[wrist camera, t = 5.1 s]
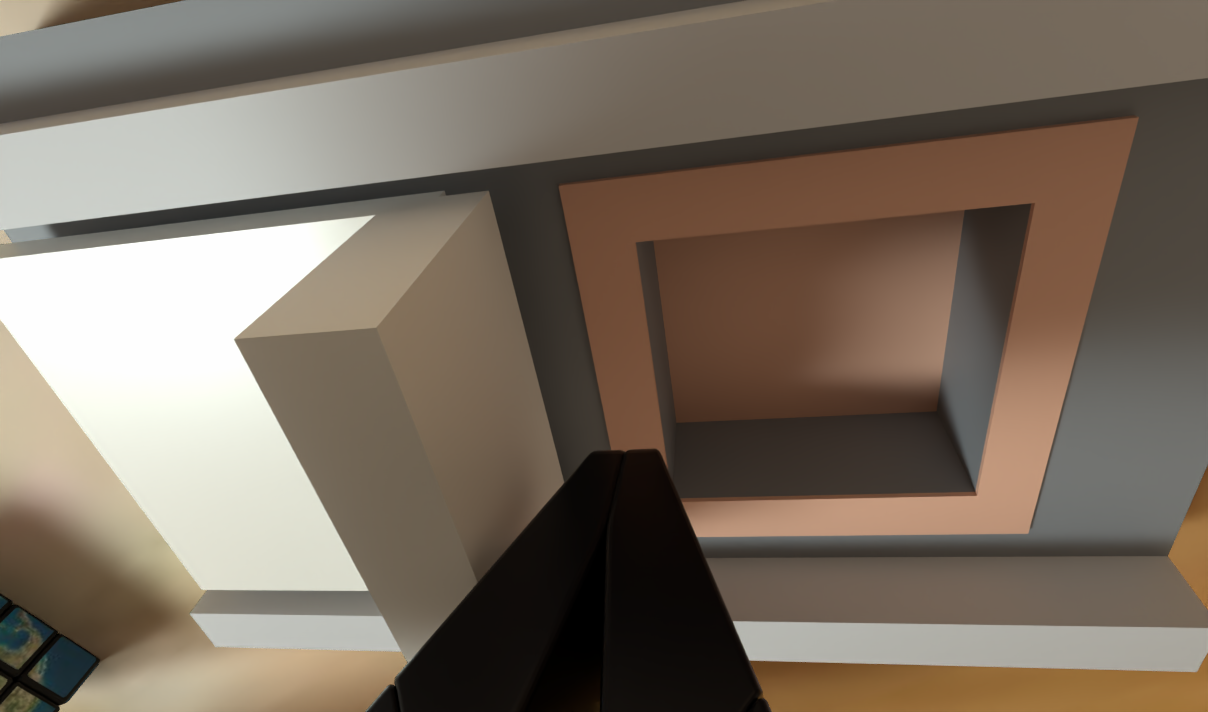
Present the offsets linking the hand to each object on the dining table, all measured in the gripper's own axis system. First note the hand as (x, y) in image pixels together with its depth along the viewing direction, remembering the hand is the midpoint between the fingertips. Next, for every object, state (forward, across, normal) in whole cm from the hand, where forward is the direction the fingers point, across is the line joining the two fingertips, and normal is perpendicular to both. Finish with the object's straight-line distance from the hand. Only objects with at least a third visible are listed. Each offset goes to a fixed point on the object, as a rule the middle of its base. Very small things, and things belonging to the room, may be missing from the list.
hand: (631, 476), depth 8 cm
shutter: (+1, +5, 0) cm, 5 cm away
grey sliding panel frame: (+4, +1, 0) cm, 4 cm away
